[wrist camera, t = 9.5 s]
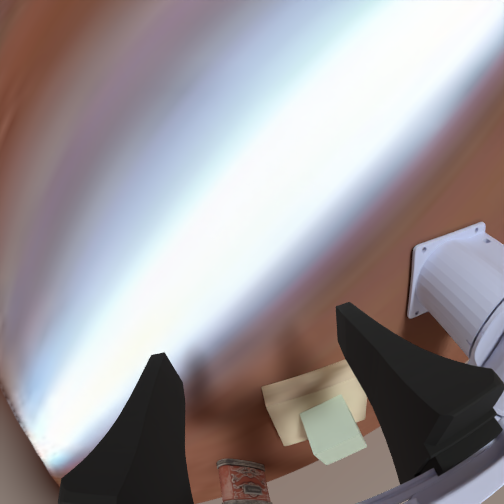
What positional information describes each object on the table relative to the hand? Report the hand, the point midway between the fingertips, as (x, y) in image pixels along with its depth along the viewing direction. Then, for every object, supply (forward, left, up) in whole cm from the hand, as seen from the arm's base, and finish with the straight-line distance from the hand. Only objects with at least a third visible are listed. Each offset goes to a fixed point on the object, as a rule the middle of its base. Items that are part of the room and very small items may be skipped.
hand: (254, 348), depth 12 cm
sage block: (-4, +20, -7) cm, 21 cm away
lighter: (+8, +34, -10) cm, 36 cm away
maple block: (-4, +20, -10) cm, 23 cm away
